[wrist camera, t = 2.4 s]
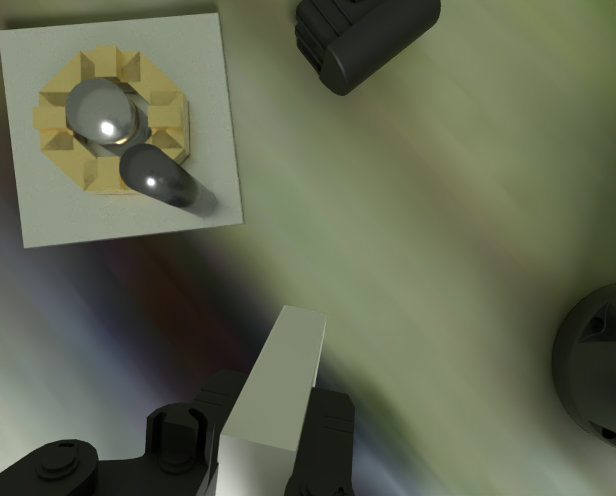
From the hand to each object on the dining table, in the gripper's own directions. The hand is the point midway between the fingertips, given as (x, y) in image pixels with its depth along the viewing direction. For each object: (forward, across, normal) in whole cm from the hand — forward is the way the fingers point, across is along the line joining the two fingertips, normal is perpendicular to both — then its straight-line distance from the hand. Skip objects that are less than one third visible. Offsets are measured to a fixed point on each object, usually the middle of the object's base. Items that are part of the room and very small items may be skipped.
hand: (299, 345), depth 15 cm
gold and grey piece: (+21, +17, -3) cm, 28 cm away
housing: (+23, +20, -4) cm, 30 cm away
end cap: (+29, +2, -15) cm, 33 cm away
